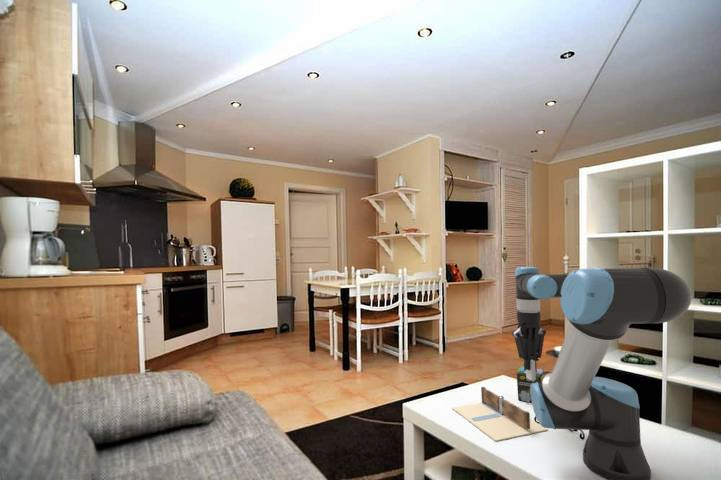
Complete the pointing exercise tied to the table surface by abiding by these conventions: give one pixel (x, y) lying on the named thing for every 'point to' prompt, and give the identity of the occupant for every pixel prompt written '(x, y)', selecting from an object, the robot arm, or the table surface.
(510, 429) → the card
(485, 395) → the fixed panel
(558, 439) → the table surface
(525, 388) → the chalk box
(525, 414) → the hinged panel
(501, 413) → the hinge post
